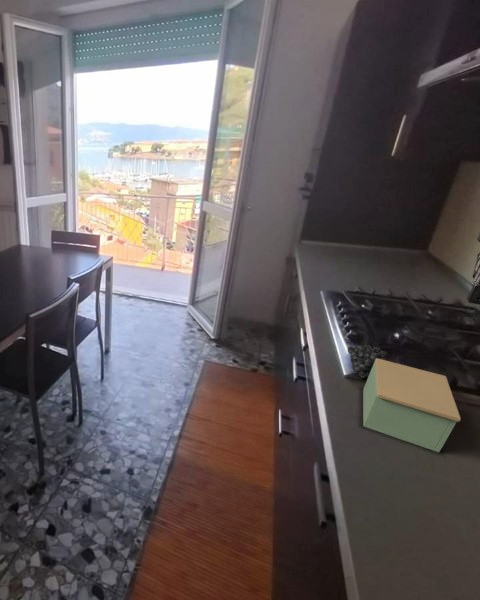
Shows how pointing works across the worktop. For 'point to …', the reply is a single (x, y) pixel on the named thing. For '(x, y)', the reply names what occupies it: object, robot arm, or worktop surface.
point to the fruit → (365, 358)
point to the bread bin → (403, 419)
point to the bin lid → (415, 389)
